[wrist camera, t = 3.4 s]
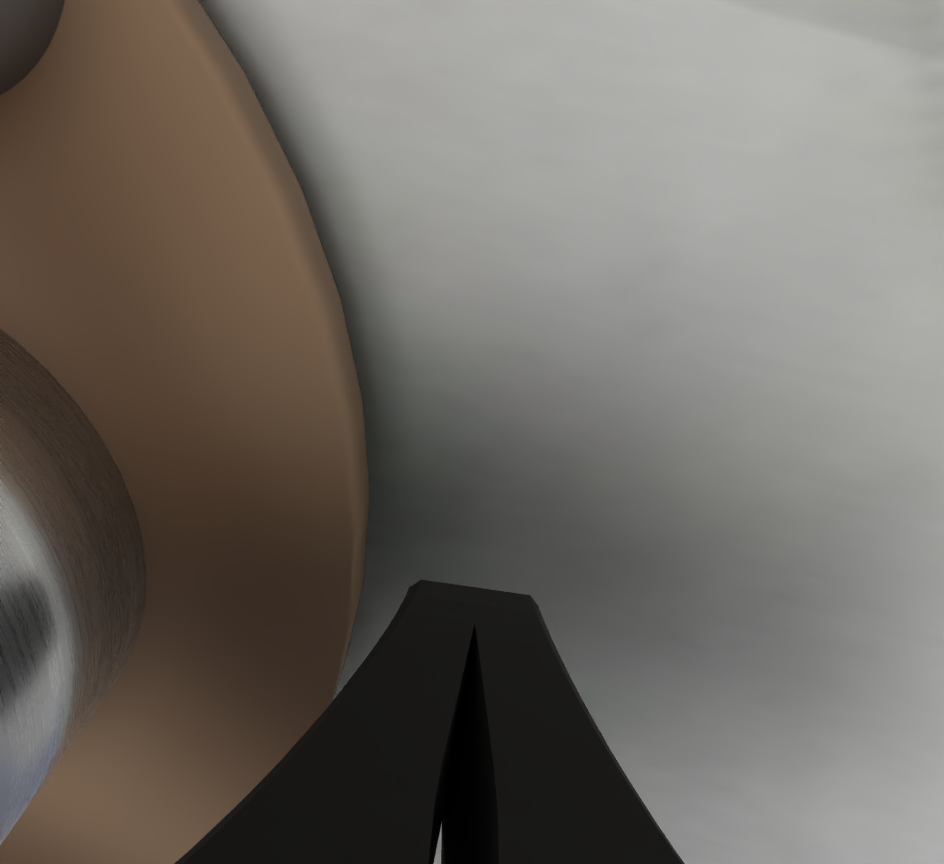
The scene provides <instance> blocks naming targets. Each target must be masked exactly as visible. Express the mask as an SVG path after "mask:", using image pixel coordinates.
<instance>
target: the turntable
mask: <svg viewBox="0 0 944 864" xmlns="http://www.w3.org/2000/svg"><path fill="white" fill-rule="evenodd" d="M0 329H1V330H3V331H4V332H5V333H7V334H8V335H9V336H11V337H12V338H13V339H15V340H16V341H17V342H18V343H19V344H20V345H21V346H22V347H23V348H24V349H25V350H27V351H28V352H29V353H30V354H31V355H32V356H33V357H34V358H35V359H36V360H37V361H39V362H40V363H41V364H42V365H43V366H44V367H45V368H46V369H47V370H48V371H49V372H50V373H51V374H52V375H53V377H54V378H55V379H56V380H57V381H58V382H59V383H60V384H61V386H62V387H63V388H64V389H65V390H66V391H67V392H68V393H69V395H70V396H71V397H72V398H73V399H74V400H75V401H76V403H77V404H78V405H79V407H80V408H81V410H82V411H83V412H84V414H85V415H86V417H87V418H88V419H89V421H90V422H91V424H92V425H93V426H94V428H95V429H96V431H97V432H98V434H99V435H100V436H101V438H102V440H103V442H104V443H105V445H106V447H107V449H108V451H109V453H110V454H111V456H112V458H113V460H114V462H115V463H116V465H117V467H118V469H119V471H120V473H121V475H122V478H123V480H124V483H125V485H126V488H127V490H128V493H129V495H130V498H131V500H132V503H133V505H134V508H135V512H136V516H137V520H138V524H139V528H140V532H141V535H142V539H143V546H144V555H145V564H146V574H147V576H146V598H145V608H144V613H143V618H142V623H141V627H140V632H139V636H138V638H137V641H136V643H135V646H134V648H133V651H132V653H131V656H130V658H129V661H128V662H127V664H126V665H125V667H124V669H123V670H122V672H121V674H120V675H119V677H118V678H117V680H116V682H115V683H114V685H113V686H112V688H111V689H110V690H109V692H108V693H107V695H106V696H105V697H104V699H103V700H102V702H101V703H100V705H99V706H98V707H97V709H96V710H95V712H94V713H93V715H92V716H91V717H90V719H89V720H88V722H87V723H86V724H85V726H84V727H83V729H82V730H81V732H80V733H79V734H78V736H77V737H76V739H75V740H74V741H73V743H72V744H71V746H70V747H69V749H68V750H67V751H66V753H65V754H64V756H63V757H62V759H61V760H60V761H59V763H58V764H57V766H56V767H55V768H54V770H53V771H52V773H51V774H50V776H49V777H48V778H47V780H46V781H45V783H44V784H43V786H42V787H41V788H40V790H39V791H38V793H37V794H36V795H35V797H34V798H33V800H32V801H31V803H30V804H29V805H28V807H27V808H26V810H25V811H24V812H23V814H22V815H21V817H20V818H19V820H18V821H17V822H16V824H15V825H14V827H13V828H12V830H11V831H10V832H9V834H8V835H7V837H6V838H5V839H4V841H3V842H2V844H1V845H0V864H174V863H175V862H177V861H178V860H179V859H180V858H181V857H182V856H183V855H185V854H186V853H187V852H188V851H189V850H190V849H191V848H192V847H193V846H194V845H196V844H197V843H198V842H199V841H200V840H201V839H202V838H203V837H204V836H205V835H206V834H207V833H208V832H209V831H210V830H211V829H213V828H214V827H215V826H216V825H217V824H218V823H219V822H220V821H221V820H222V819H223V818H224V817H225V816H226V815H227V814H228V813H229V812H230V811H231V810H233V809H234V808H235V807H236V806H237V805H238V804H239V803H240V802H241V801H242V800H243V799H244V798H245V797H246V796H247V795H248V794H249V793H250V792H251V791H252V790H253V789H254V788H255V787H256V786H257V785H258V784H259V782H260V781H261V780H262V779H263V778H264V777H265V776H266V775H267V774H268V773H269V772H270V771H271V770H272V769H273V768H274V767H275V766H276V765H277V764H278V763H279V762H280V761H281V760H282V758H283V757H284V756H285V755H286V754H287V753H288V752H289V750H290V749H291V748H292V747H293V746H294V745H295V744H296V743H297V741H298V740H299V739H300V738H301V737H302V736H303V735H304V734H305V732H306V731H307V730H308V729H309V728H310V727H311V726H312V724H313V723H314V722H315V721H316V720H317V719H318V718H319V717H320V715H321V714H322V713H323V712H324V711H325V710H326V709H327V708H328V706H329V705H330V704H331V703H332V702H333V698H334V695H335V692H336V689H337V685H338V682H339V679H340V675H341V672H342V669H343V666H344V662H345V659H346V656H347V652H348V648H349V644H350V639H351V635H352V630H353V626H354V621H355V617H356V613H357V608H358V604H359V599H360V595H361V591H362V586H363V582H364V574H365V559H366V544H367V530H368V515H369V500H370V490H369V477H368V464H367V451H366V438H365V425H364V413H363V401H362V396H361V391H360V387H359V382H358V378H357V373H356V368H355V364H354V359H353V354H352V350H351V345H350V341H349V336H348V331H347V327H346V322H345V317H344V313H343V308H342V304H341V299H340V296H339V293H338V290H337V288H336V285H335V282H334V279H333V276H332V273H331V271H330V268H329V265H328V262H327V259H326V256H325V254H324V251H323V248H322V245H321V242H320V239H319V237H318V234H317V231H316V228H315V225H314V222H313V220H312V217H311V214H310V211H309V208H308V205H307V203H306V200H305V197H304V194H303V191H302V189H301V187H300V185H299V183H298V180H297V178H296V176H295V174H294V172H293V170H292V168H291V166H290V164H289V162H288V160H287V158H286V156H285V154H284V152H283V150H282V148H281V146H280V144H279V142H278V140H277V138H276V136H275V134H274V132H273V130H272V128H271V126H270V124H269V122H268V120H267V118H266V116H265V114H264V111H263V109H262V107H261V105H260V103H259V101H258V99H257V97H256V95H255V93H254V91H253V89H252V87H251V85H250V83H249V81H248V79H247V77H246V75H245V73H244V71H243V70H242V68H241V67H240V65H239V64H238V62H237V60H236V59H235V57H234V56H233V54H232V53H231V51H230V50H229V48H228V46H227V45H226V43H225V42H224V40H223V39H222V37H221V36H220V34H219V32H218V31H217V29H216V28H215V26H214V25H213V23H212V22H211V20H210V18H209V17H208V15H207V14H206V12H205V11H204V9H203V8H202V6H201V4H200V3H199V1H198V0H0Z"/></svg>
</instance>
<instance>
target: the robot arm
mask: <svg viewBox="0 0 944 864" xmlns="http://www.w3.org/2000/svg"><path fill="white" fill-rule="evenodd" d="M441 823H442V849H441V864H684V862H683V861H682V859H681V858H680V857H679V855H678V854H677V852H676V851H675V850H674V848H673V847H672V845H671V844H670V842H669V841H668V839H667V838H666V836H665V835H664V833H663V832H662V831H661V829H660V828H659V826H658V825H657V823H656V822H655V820H654V819H653V817H652V815H651V814H650V812H649V811H648V809H647V808H646V806H645V805H644V803H643V802H642V800H641V798H640V797H639V795H638V794H637V792H636V791H635V789H634V788H633V786H632V784H631V783H630V781H629V780H628V778H627V777H626V775H625V773H624V772H623V770H622V768H621V767H620V765H619V763H618V762H617V760H616V758H615V757H614V755H613V754H612V752H611V750H610V749H609V747H608V745H607V743H606V741H605V740H604V738H603V736H602V734H601V733H600V731H599V729H598V727H597V725H596V724H595V722H594V720H593V718H592V717H591V715H590V713H589V711H588V709H587V708H586V706H585V704H584V702H583V701H582V699H581V697H580V695H579V693H578V691H577V689H576V687H575V685H574V683H573V682H572V680H571V678H570V676H569V674H568V672H567V670H566V668H565V665H564V663H563V661H562V659H561V657H560V655H559V653H558V651H557V649H556V647H555V645H554V643H553V640H552V638H551V636H550V634H549V631H548V629H547V627H546V624H545V622H544V620H543V617H542V615H541V612H540V610H539V607H538V605H537V604H536V603H535V601H534V600H533V598H532V597H531V596H530V595H524V594H517V593H510V592H503V591H496V590H489V589H482V588H475V587H468V586H461V585H454V584H447V583H440V582H433V581H426V580H420V581H418V582H417V583H415V584H414V585H412V586H411V587H409V590H408V592H407V594H406V597H405V599H404V601H403V602H402V604H401V606H400V608H399V610H398V611H397V613H396V615H395V617H394V618H393V620H392V621H391V623H390V624H389V626H388V628H387V629H386V631H385V632H384V634H383V635H382V636H381V638H380V639H379V641H378V642H377V644H376V645H375V647H374V648H373V650H372V651H371V652H370V654H369V655H368V656H367V658H366V659H365V660H364V662H363V663H362V664H361V665H360V667H359V668H358V669H357V671H356V672H355V673H354V675H353V676H352V677H351V679H350V680H349V681H348V682H347V684H346V685H345V686H344V688H343V689H342V690H341V692H340V693H339V694H338V695H337V697H336V698H335V699H334V700H333V702H332V703H331V704H330V705H329V706H328V708H327V709H326V710H325V711H324V712H323V713H322V714H321V715H320V717H319V718H318V719H317V720H316V721H315V722H314V723H313V724H312V726H311V727H310V728H309V729H308V730H307V731H306V732H305V734H304V735H303V736H302V737H301V738H300V739H299V740H298V741H297V743H296V744H295V745H294V746H293V747H292V748H291V749H290V750H289V752H288V753H287V754H286V755H285V756H284V757H283V758H282V760H281V761H280V762H279V763H278V764H277V765H276V766H275V767H274V768H273V769H272V770H271V771H270V772H269V773H268V774H267V775H266V776H265V777H264V778H263V779H262V780H261V781H260V782H259V784H258V785H257V786H256V787H255V788H254V789H253V790H252V791H251V792H250V793H249V794H248V795H247V796H246V797H245V798H244V799H243V800H242V801H241V802H240V803H239V804H238V805H237V806H236V807H235V808H234V809H233V810H231V811H230V812H229V813H228V814H227V815H226V816H225V817H224V818H223V819H222V820H221V821H220V822H219V823H218V824H217V825H216V826H215V827H214V828H213V829H211V830H210V831H209V832H208V833H207V834H206V835H205V836H204V837H203V838H202V839H201V840H200V841H199V842H198V843H197V844H196V845H194V846H193V847H192V848H191V849H190V850H189V851H188V852H187V853H186V854H185V855H183V856H182V857H181V858H180V859H179V860H178V861H177V862H175V863H174V864H433V863H434V858H435V853H436V848H437V843H438V838H439V833H440V828H441Z"/></svg>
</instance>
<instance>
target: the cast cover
mask: <svg viewBox="0 0 944 864" xmlns="http://www.w3.org/2000/svg"><path fill="white" fill-rule="evenodd" d="M146 576H147V574H146V564H145V555H144V546H143V539H142V535H141V532H140V528H139V524H138V520H137V516H136V512H135V508H134V505H133V503H132V500H131V498H130V495H129V493H128V490H127V488H126V485H125V483H124V480H123V478H122V475H121V473H120V471H119V469H118V467H117V465H116V463H115V462H114V460H113V458H112V456H111V454H110V453H109V451H108V449H107V447H106V445H105V443H104V442H103V440H102V438H101V436H100V435H99V434H98V432H97V431H96V429H95V428H94V426H93V425H92V424H91V422H90V421H89V419H88V418H87V417H86V415H85V414H84V412H83V411H82V410H81V408H80V407H79V405H78V404H77V403H76V401H75V400H74V399H73V398H72V397H71V396H70V395H69V393H68V392H67V391H66V390H65V389H64V388H63V387H62V386H61V384H60V383H59V382H58V381H57V380H56V379H55V378H54V377H53V375H52V374H51V373H50V372H49V371H48V370H47V369H46V368H45V367H44V366H43V365H42V364H41V363H40V362H39V361H37V360H36V359H35V358H34V357H33V356H32V355H31V354H30V353H29V352H28V351H27V350H25V349H24V348H23V347H22V346H21V345H20V344H19V343H18V342H17V341H16V340H15V339H13V338H12V337H11V336H9V335H8V334H7V333H5V332H4V331H3V330H1V329H0V845H1V844H2V842H3V841H4V839H5V838H6V837H7V835H8V834H9V832H10V831H11V830H12V828H13V827H14V825H15V824H16V822H17V821H18V820H19V818H20V817H21V815H22V814H23V812H24V811H25V810H26V808H27V807H28V805H29V804H30V803H31V801H32V800H33V798H34V797H35V795H36V794H37V793H38V791H39V790H40V788H41V787H42V786H43V784H44V783H45V781H46V780H47V778H48V777H49V776H50V774H51V773H52V771H53V770H54V768H55V767H56V766H57V764H58V763H59V761H60V760H61V759H62V757H63V756H64V754H65V753H66V751H67V750H68V749H69V747H70V746H71V744H72V743H73V741H74V740H75V739H76V737H77V736H78V734H79V733H80V732H81V730H82V729H83V727H84V726H85V724H86V723H87V722H88V720H89V719H90V717H91V716H92V715H93V713H94V712H95V710H96V709H97V707H98V706H99V705H100V703H101V702H102V700H103V699H104V697H105V696H106V695H107V693H108V692H109V690H110V689H111V688H112V686H113V685H114V683H115V682H116V680H117V678H118V677H119V675H120V674H121V672H122V670H123V669H124V667H125V665H126V664H127V662H128V661H129V658H130V656H131V653H132V651H133V648H134V646H135V643H136V641H137V638H138V636H139V632H140V627H141V623H142V618H143V613H144V608H145V598H146Z"/></svg>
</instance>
